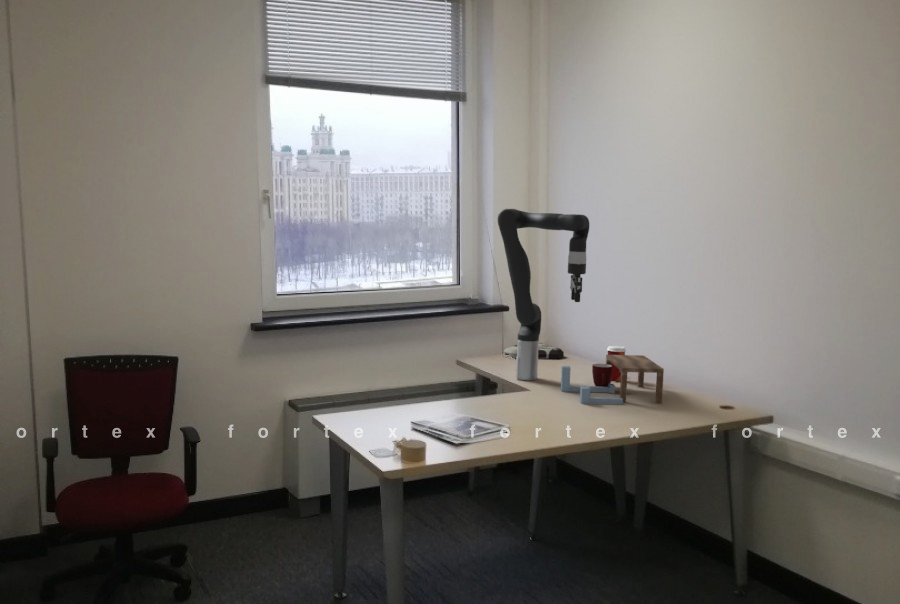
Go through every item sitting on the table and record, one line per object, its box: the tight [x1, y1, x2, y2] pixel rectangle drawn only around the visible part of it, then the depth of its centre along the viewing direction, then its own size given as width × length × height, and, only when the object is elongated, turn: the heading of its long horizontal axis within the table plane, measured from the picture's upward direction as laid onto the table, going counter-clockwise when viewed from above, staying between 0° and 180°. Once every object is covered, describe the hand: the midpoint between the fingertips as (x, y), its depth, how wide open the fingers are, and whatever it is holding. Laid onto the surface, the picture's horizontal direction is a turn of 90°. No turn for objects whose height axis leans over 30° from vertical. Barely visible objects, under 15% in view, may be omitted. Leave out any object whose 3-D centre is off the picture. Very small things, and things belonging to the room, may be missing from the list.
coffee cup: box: [606, 345, 627, 382], centre depth 345 cm, size 8×8×15 cm
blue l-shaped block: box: [579, 387, 624, 405], centre depth 302 cm, size 16×3×6 cm, turn 91°
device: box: [502, 342, 565, 360], centre depth 405 cm, size 33×27×5 cm
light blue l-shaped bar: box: [560, 365, 616, 394], centre depth 322 cm, size 22×5×10 cm, turn 89°
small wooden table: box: [605, 354, 665, 404], centre depth 318 cm, size 16×30×14 cm, turn 1°
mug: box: [591, 363, 612, 387], centre depth 326 cm, size 11×8×10 cm
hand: (575, 300), depth 330 cm, fingers open, 8 cm apart
